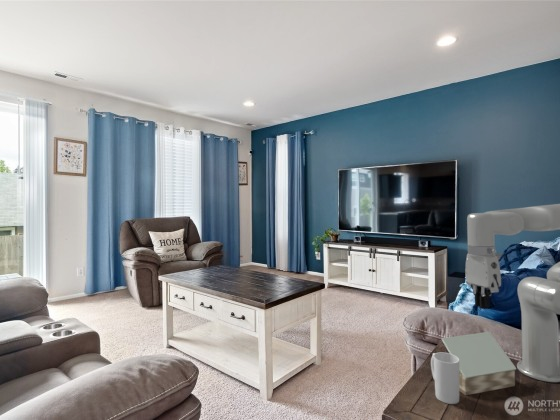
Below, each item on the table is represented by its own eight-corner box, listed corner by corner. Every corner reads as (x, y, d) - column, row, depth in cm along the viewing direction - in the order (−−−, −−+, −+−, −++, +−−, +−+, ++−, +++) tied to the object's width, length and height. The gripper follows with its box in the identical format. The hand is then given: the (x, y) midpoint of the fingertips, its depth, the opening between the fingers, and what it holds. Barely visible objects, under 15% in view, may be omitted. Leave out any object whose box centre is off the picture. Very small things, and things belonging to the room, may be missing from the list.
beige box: (481, 366, 112) (480, 352, 112) (514, 385, 100) (514, 370, 100) (436, 373, 108) (436, 359, 108) (465, 395, 96) (465, 379, 96)
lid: (488, 332, 109) (489, 331, 109) (515, 369, 100) (516, 368, 99) (441, 339, 105) (442, 338, 105) (464, 378, 96) (465, 377, 95)
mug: (465, 402, 93) (464, 361, 92) (445, 406, 91) (444, 364, 91) (441, 384, 102) (440, 346, 102) (422, 387, 101) (421, 349, 101)
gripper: (512, 253, 98) (513, 313, 99) (471, 247, 114) (473, 299, 114) (491, 255, 97) (493, 315, 97) (453, 248, 112) (454, 301, 112)
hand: (482, 306), depth 106 cm, fingers closed
